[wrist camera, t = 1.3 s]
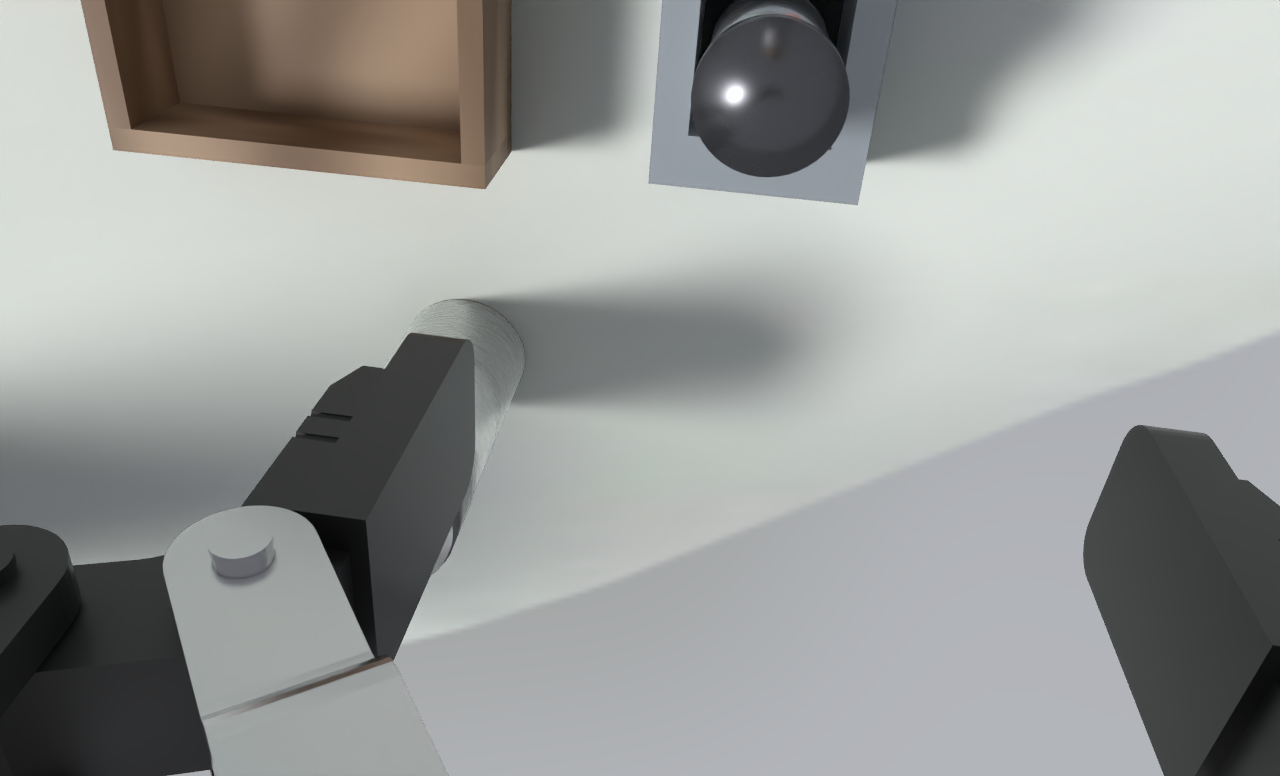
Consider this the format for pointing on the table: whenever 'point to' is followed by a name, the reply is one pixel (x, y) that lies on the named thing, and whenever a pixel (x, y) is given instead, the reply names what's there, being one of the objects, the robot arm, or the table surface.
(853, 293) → the table surface
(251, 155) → the bin
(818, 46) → the plunger
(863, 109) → the tester
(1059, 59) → the table surface
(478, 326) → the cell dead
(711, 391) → the table surface
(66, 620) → the robot arm
